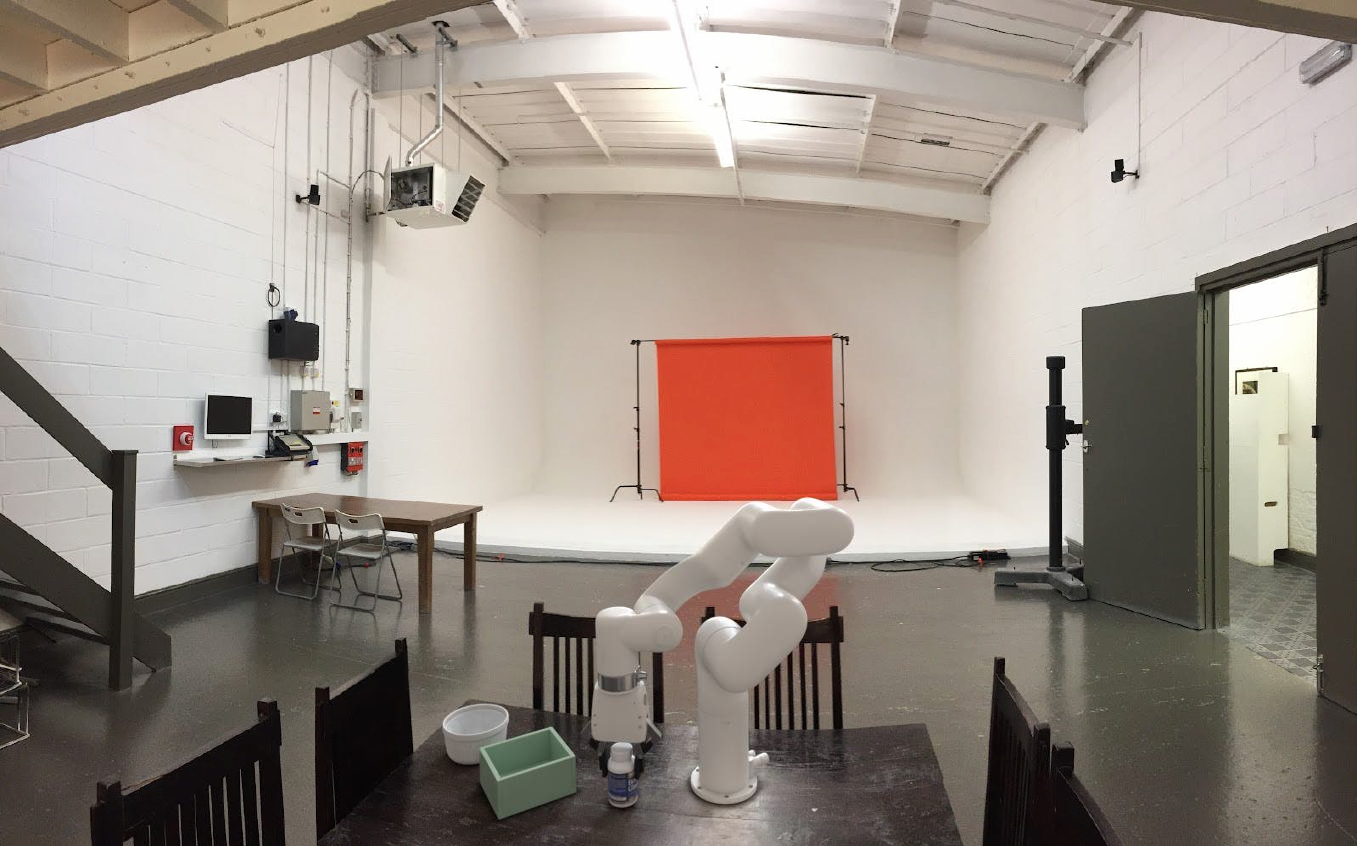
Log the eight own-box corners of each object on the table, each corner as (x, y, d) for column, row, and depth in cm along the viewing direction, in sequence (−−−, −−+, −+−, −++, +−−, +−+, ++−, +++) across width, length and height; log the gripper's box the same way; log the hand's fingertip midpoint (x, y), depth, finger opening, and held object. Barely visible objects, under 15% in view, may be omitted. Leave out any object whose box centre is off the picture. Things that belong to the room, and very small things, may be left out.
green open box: (552, 759, 133) (551, 726, 132) (576, 792, 122) (575, 755, 122) (480, 782, 125) (479, 747, 125) (498, 819, 114) (497, 781, 114)
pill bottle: (633, 809, 116) (631, 756, 116) (604, 807, 117) (602, 754, 117) (641, 791, 121) (639, 740, 121) (613, 788, 123) (611, 738, 122)
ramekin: (513, 731, 144) (512, 700, 143) (504, 766, 131) (503, 732, 130) (451, 736, 142) (450, 705, 142) (436, 771, 129) (435, 737, 129)
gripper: (668, 670, 120) (672, 764, 121) (579, 666, 123) (583, 759, 124) (661, 689, 113) (665, 789, 114) (566, 685, 116) (570, 783, 117)
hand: (622, 773), depth 119 cm, fingers closed on pill bottle, 5 cm apart
